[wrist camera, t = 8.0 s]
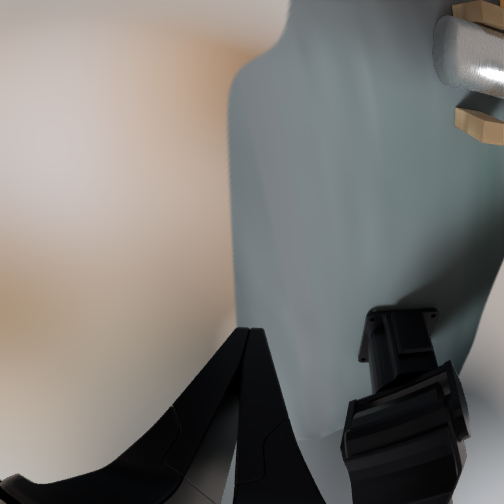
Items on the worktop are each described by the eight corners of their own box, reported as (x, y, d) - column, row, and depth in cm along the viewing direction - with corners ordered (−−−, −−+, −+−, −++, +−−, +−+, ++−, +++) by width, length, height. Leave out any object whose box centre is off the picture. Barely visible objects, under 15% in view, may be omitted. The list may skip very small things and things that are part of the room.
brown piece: (479, 129, 15) (509, 146, 12) (454, 126, 15) (481, 142, 12) (478, 12, 10) (510, 10, 8) (451, 5, 11) (480, -1, 8)
